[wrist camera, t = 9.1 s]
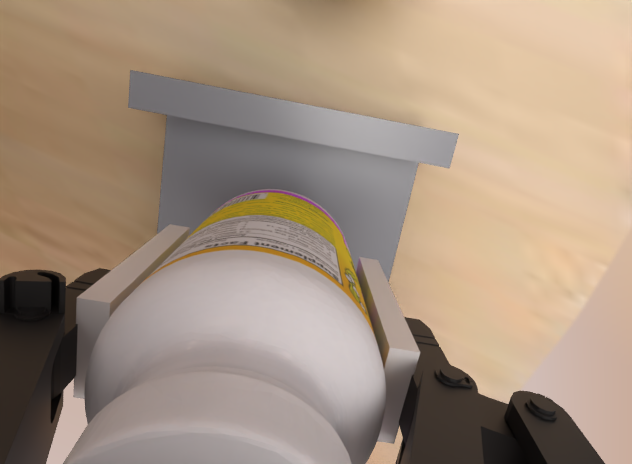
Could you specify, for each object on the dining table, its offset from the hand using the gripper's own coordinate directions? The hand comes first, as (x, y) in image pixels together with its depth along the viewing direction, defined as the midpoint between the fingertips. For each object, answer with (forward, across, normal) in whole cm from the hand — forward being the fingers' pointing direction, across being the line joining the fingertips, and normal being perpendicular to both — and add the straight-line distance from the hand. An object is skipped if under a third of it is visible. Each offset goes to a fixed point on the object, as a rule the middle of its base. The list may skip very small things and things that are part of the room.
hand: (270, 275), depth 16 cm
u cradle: (+9, 0, 0) cm, 9 cm away
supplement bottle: (+2, 0, 0) cm, 2 cm away
